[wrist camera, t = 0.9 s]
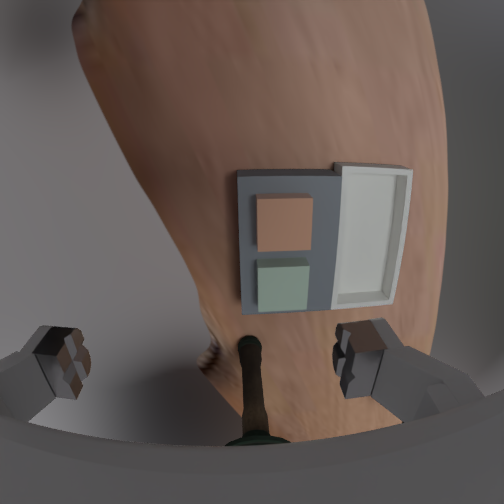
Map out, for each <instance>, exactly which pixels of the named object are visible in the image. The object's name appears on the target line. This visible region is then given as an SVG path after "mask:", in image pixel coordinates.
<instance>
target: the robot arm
mask: <svg viewBox="0 0 504 504" xmlns="http://www.w3.org/2000/svg"><path fill="white" fill-rule="evenodd" d="M335 336H336V338H337V340H338V341H337V343H336V344H335V345H334V346H333V353H332V358H333V367H334V370H335V373H336V375H338V376H339V377H341V379H340V387H341V389H342V392H343V395H344V397H345V399H350V398H357V397H364V396H371V397H372V398H373V399H375V400H376V401H377V402H378V403H380V404H381V405H382V406H384V407H385V408H386V409H387V410H389V411H390V412H391V413H393V414H394V415H395V416H396V417H398V418H399V419H400V420H402V421H403V422H404V423H402V424H398V425H394V426H389V427H385V428H380V429H376V430H371V431H366V432H361V433H356V434H350V435H345V436H339V437H333V438H326V439H319V440H311V441H302V442H293V443H282V444H269V445H252V446H179V445H161V444H149V443H138V442H129V441H120V440H112V439H105V438H99V437H93V436H87V435H82V434H76V433H71V432H66V431H62V430H57V429H52V428H48V427H44V426H40V425H36V424H32V423H29V422H28V421H29V420H31V419H32V418H33V417H34V416H35V415H36V414H38V413H39V412H40V411H41V410H42V409H43V408H45V407H46V406H47V405H48V404H49V403H51V402H52V401H53V400H54V399H55V397H59V398H67V399H74V400H76V399H77V398H78V395H79V394H80V391H81V389H82V387H83V385H82V382H81V381H82V380H83V379H85V378H87V377H88V374H89V372H90V368H91V359H90V355H89V352H88V350H87V349H86V348H85V347H84V346H83V345H82V344H83V341H84V337H83V335H82V332H81V330H79V329H78V328H68V327H56V326H54V327H53V326H40V327H39V328H38V329H37V331H36V332H35V333H34V334H33V335H32V337H31V338H30V339H29V340H28V342H27V343H26V344H25V345H24V347H23V348H22V349H21V351H20V352H14V353H12V354H11V355H9V356H7V357H5V358H3V359H1V360H0V504H504V389H503V390H501V391H498V392H496V393H494V394H491V395H489V396H486V397H485V396H484V395H483V394H482V392H481V391H480V390H479V388H478V387H477V386H476V384H475V383H474V382H473V380H472V379H471V378H470V376H469V375H468V374H466V373H464V372H462V371H460V370H458V369H456V368H454V367H451V366H450V365H448V364H445V363H443V362H441V361H439V360H437V359H435V358H433V357H431V356H429V355H426V354H424V353H422V352H420V351H418V350H416V349H414V348H412V347H410V346H405V347H404V345H403V344H402V342H401V341H400V340H399V338H398V337H397V335H396V334H395V332H394V331H393V330H392V328H391V327H390V325H389V324H388V322H387V321H386V320H385V319H384V318H376V319H369V320H364V321H355V322H346V323H338V324H337V327H336V332H335Z"/></svg>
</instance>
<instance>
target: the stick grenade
mask: <svg viewBox="0 0 504 504" xmlns="http://www.w3.org/2000/svg"><path fill="white" fill-rule="evenodd" d="M261 350H262V346H261V343H260V341H259V340H258V339H257V338H256V337H253V336H247V337H244V338H242V339H241V341H240V342H239V344H238V351H239V357H240V364H241V367H242V379H243V404H244V410H243V415H242V425H243V426H242V427H243V436H242V438H239V439H237V440H234V441H231V442H229V443H228V444H226V445H225V446H252V445H269V444H282V443H291V442H289V441H287V440H285V439H283V438H280V437H274V436H270V434H269V426H268V417H267V413H266V410H265V407H264V398H263V388H262V378H261V369H260V366H261V361H262V358H261Z"/></svg>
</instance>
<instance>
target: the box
mask: <svg viewBox="0 0 504 504" xmlns="http://www.w3.org/2000/svg"><path fill="white" fill-rule="evenodd" d="M334 172H335V173H337V174H339V175H341V176H342V189H341V206H340V220H339V233H338V245H337V256H336V267H335V276H334V286H333V294H332V303H331V310H332V309H344V308H356V307H367V306H378V305H387V304H393V300H394V296H395V291H396V286H397V281H398V276H399V271H400V266H401V260H402V254H403V248H404V242H405V235H406V229H407V221H408V214H409V206H410V197H411V187H412V177H413V170H412V169H409V168H406V167H404V166H401V165H386V164H369V163H347V162H334Z"/></svg>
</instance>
